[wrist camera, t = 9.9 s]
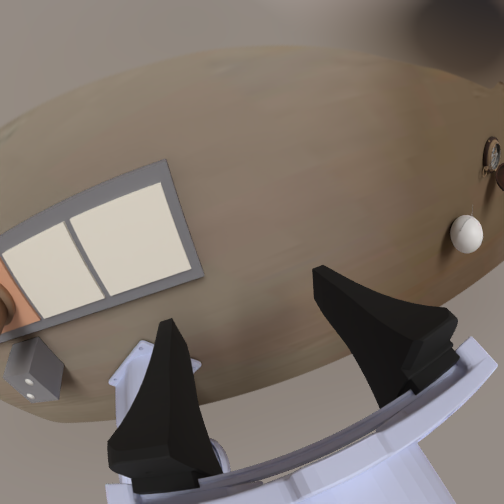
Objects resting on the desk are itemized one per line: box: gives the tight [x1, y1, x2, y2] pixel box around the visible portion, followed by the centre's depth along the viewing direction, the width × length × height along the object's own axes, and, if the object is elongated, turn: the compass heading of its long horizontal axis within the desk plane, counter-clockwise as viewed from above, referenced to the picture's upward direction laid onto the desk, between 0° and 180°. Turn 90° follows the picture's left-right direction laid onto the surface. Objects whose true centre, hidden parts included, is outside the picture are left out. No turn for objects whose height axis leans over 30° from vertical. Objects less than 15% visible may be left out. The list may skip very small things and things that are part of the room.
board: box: [0, 159, 204, 343], centre depth 18 cm, size 33×10×1 cm, turn 102°
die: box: [3, 337, 64, 403], centre depth 20 cm, size 5×5×5 cm
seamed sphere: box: [450, 205, 483, 253], centre depth 30 cm, size 8×6×6 cm
